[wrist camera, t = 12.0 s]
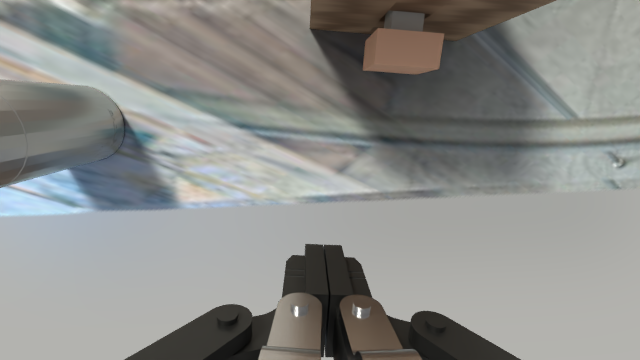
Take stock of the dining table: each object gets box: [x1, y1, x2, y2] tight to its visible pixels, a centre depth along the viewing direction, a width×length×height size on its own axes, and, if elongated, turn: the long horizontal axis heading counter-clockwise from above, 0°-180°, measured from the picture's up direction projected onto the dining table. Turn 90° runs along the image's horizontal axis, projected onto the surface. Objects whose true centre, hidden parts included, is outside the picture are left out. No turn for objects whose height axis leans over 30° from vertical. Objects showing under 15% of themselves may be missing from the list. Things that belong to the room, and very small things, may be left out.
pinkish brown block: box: [363, 10, 444, 74], centre depth 30 cm, size 6×9×6 cm, turn 176°
